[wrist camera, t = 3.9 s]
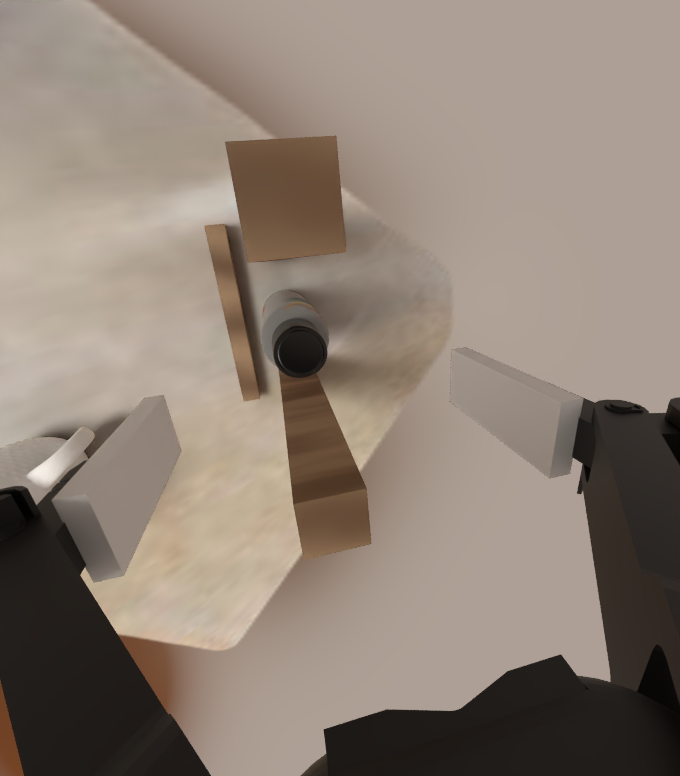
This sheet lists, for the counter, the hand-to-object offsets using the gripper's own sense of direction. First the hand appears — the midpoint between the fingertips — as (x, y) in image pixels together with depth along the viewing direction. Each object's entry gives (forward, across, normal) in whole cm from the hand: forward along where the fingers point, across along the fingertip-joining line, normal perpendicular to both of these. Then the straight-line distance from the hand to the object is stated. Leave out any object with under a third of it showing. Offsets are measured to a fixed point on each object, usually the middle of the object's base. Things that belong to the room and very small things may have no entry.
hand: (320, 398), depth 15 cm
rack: (+28, -3, 0) cm, 29 cm away
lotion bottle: (+29, 0, 0) cm, 29 cm away
